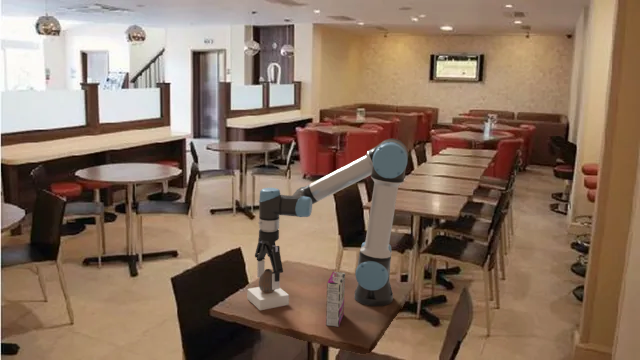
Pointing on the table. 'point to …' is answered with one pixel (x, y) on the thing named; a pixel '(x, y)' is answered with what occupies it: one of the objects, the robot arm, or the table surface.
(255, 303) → the plinth
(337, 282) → the candy bar box
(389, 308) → the table surface
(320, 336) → the table surface
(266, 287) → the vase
